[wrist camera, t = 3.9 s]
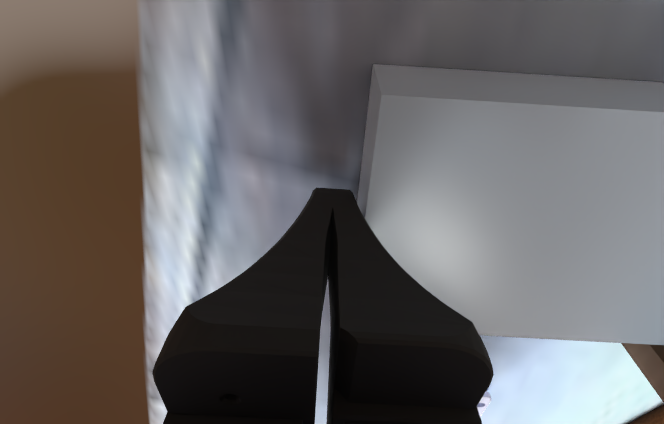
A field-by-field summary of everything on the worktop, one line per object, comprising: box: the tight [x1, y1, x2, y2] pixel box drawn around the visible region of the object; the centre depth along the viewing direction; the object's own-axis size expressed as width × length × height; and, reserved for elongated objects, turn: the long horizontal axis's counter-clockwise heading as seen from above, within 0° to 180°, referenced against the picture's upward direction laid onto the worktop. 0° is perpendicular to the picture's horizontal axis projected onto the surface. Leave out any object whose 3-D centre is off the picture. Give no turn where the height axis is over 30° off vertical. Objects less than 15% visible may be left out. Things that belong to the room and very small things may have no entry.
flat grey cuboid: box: [357, 64, 664, 345], centre depth 12 cm, size 9×14×3 cm, turn 87°
